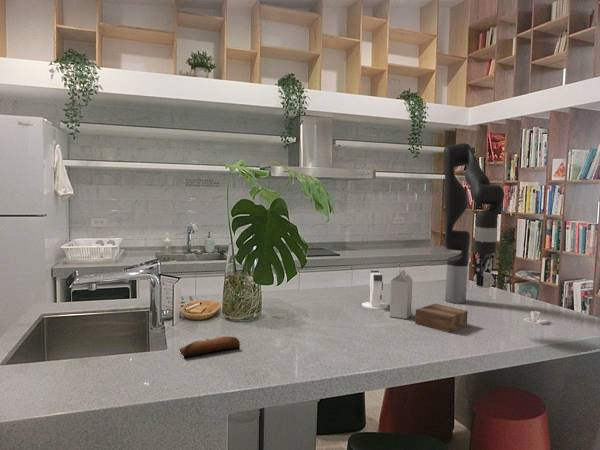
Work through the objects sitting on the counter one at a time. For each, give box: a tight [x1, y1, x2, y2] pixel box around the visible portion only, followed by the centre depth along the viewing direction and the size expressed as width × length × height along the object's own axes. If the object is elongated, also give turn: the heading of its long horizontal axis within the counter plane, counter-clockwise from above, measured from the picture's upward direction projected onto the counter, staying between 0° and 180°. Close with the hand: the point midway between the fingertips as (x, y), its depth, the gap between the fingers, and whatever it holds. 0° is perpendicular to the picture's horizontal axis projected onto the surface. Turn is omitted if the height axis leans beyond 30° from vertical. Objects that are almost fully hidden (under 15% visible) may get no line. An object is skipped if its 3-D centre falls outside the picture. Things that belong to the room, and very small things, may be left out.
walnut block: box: [414, 303, 469, 333], centre depth 173 cm, size 14×14×6 cm
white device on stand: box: [361, 270, 389, 310], centre depth 198 cm, size 12×11×15 cm
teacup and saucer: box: [524, 310, 548, 325], centre depth 180 cm, size 9×8×4 cm
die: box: [473, 272, 495, 289], centre depth 165 cm, size 5×5×5 cm
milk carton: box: [389, 268, 413, 320], centre depth 183 cm, size 7×7×19 cm
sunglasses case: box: [178, 336, 241, 359], centre depth 141 cm, size 18×7×7 cm
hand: (483, 284), depth 165 cm, fingers closed on die, 7 cm apart
